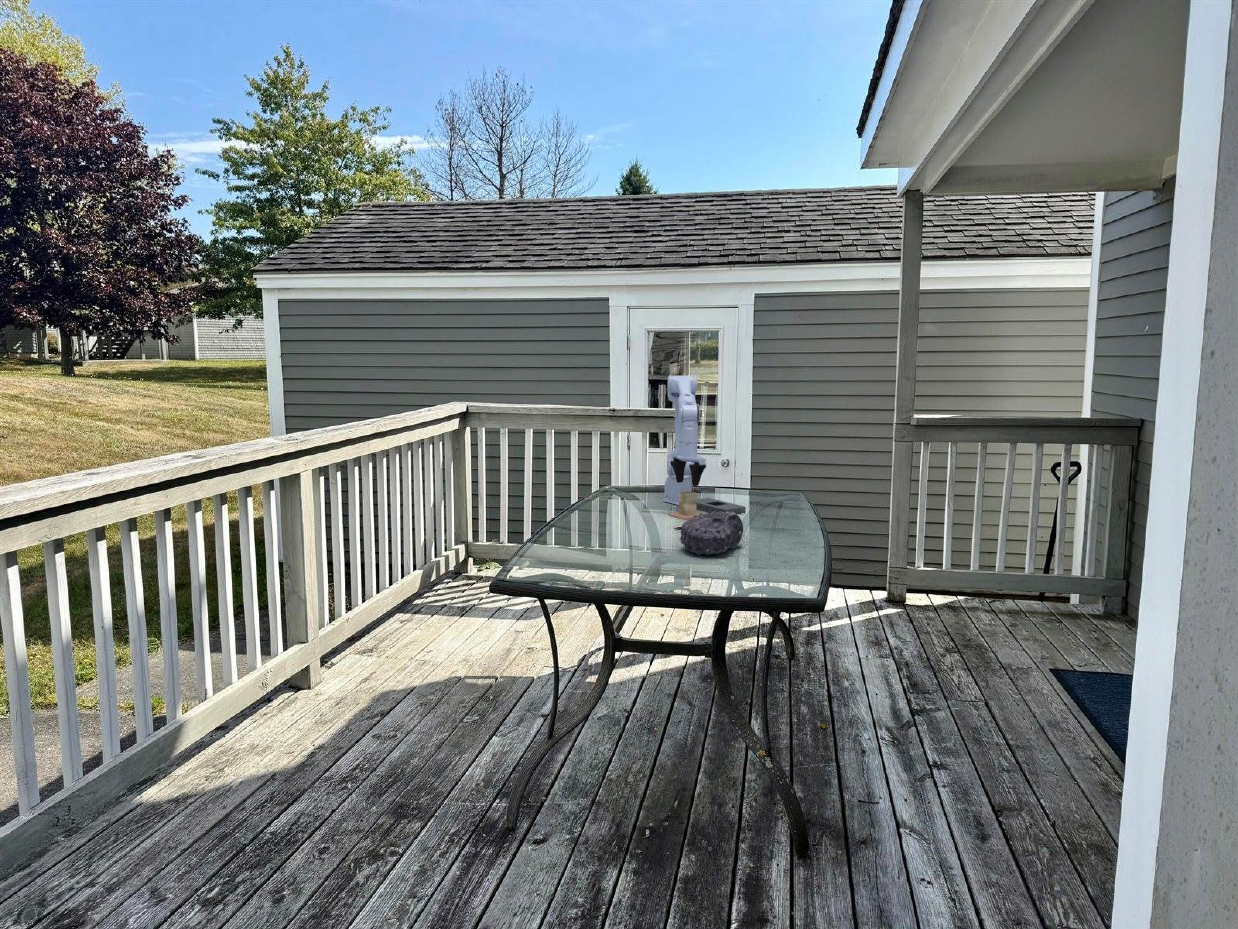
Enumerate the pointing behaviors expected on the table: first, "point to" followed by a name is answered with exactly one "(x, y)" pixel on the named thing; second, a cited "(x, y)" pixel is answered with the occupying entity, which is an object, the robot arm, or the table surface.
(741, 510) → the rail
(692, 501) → the peg
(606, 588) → the table surface
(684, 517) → the tile
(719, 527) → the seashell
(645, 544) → the table surface
